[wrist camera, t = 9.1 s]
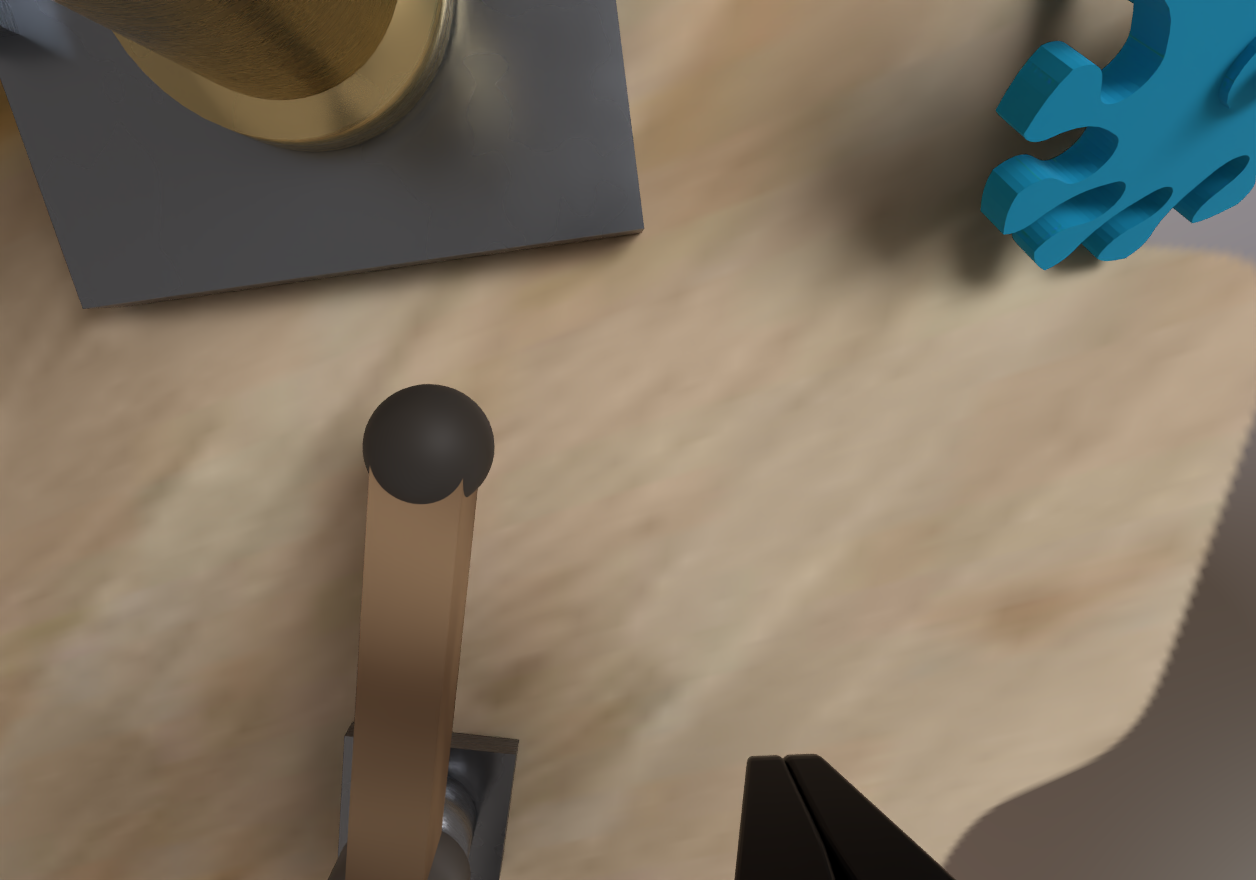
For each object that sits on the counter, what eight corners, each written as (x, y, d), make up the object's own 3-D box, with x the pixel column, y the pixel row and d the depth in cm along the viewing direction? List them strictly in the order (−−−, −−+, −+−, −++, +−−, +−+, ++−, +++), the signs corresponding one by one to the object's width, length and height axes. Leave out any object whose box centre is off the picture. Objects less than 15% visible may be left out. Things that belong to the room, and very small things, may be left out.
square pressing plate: (501, 868, 20) (488, 938, 18) (344, 853, 19) (313, 923, 17) (518, 740, 19) (507, 799, 16) (352, 721, 18) (319, 779, 16)
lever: (466, 918, 18) (443, 1024, 15) (339, 906, 17) (293, 1013, 15) (531, 388, 14) (515, 411, 11) (370, 364, 13) (315, 382, 11)
